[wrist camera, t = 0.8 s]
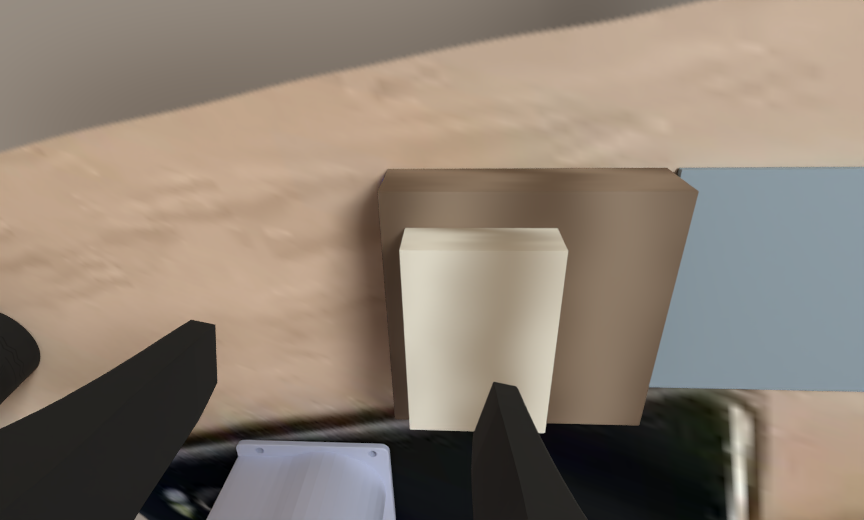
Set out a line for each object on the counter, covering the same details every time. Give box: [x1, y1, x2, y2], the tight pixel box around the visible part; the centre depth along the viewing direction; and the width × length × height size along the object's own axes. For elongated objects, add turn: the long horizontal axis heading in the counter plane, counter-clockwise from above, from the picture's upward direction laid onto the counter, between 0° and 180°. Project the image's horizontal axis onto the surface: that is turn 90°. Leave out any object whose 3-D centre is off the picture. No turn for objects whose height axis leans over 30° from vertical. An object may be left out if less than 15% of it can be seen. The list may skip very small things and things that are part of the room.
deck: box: [377, 168, 699, 425], centre depth 22 cm, size 12×12×3 cm
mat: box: [649, 167, 864, 392], centre depth 22 cm, size 14×12×1 cm
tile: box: [399, 228, 568, 433], centre depth 20 cm, size 6×9×2 cm, turn 1°
